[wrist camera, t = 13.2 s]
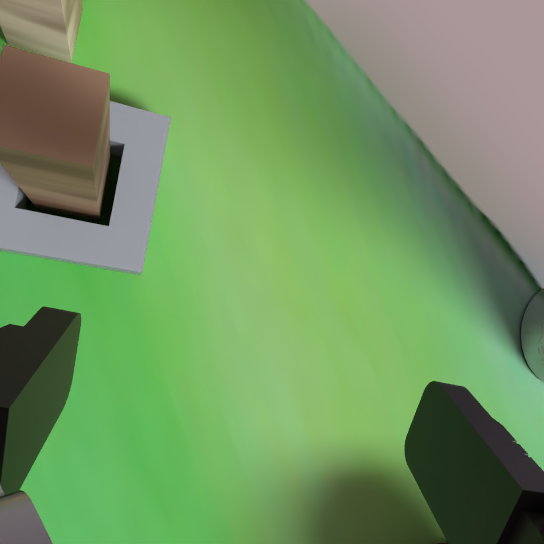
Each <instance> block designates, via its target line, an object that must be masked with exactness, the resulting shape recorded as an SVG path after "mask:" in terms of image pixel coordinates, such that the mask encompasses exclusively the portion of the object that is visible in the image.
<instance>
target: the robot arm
mask: <svg viewBox="0 0 544 544" xmlns="http://www.w3.org/2000/svg"><path fill="white" fill-rule="evenodd" d="M80 326H81V314H80V313H76V312H70V311H65V310H60V309H55V308H49V307H42V308H41V309H40V310H39V311H38V312H37V313H36V314H35V315H34V316H33V317H32V318H31V320H30V321H29V322H28V323H27V324H26V325H25V326H24V327H23V326H18V325H12V324H9V325H6V326H4V327H1V328H0V544H53V543H52V541H51V539H50V537H49V535H48V533H47V531H46V529H45V527H44V525H43V523H42V521H41V519H40V517H39V515H38V513H37V511H36V509H35V507H34V505H33V503H32V501H31V499H30V498H29V496H28V495H27V494H26V493H25V492H24V491H21V490H20V491H19V489H20V488H21V486H22V484H23V482H24V480H25V478H26V476H27V475H28V473H29V471H30V469H31V467H32V465H33V464H34V462H35V460H36V458H37V456H38V454H39V452H40V451H41V449H42V447H43V445H44V443H45V441H46V440H47V438H48V436H49V434H50V432H51V430H52V429H53V427H54V425H55V423H56V421H57V419H58V417H59V416H60V414H61V412H62V410H63V408H64V406H65V404H66V401H67V398H68V395H69V392H70V388H71V384H72V378H73V372H74V366H75V359H76V353H77V346H78V340H79V333H80ZM521 342H522V349H523V352H524V356H525V359H526V361H527V363H528V365H529V367H530V368H531V370H532V371H533V373H534V374H535V375H536V376H537V377H538V378H539V379H540V380H542V381H543V382H544V289H542V290H540V291H539V292H538V293H537V294H536V295H535V296H534V297H533V299H532V300H531V301H530V303H529V304H528V307H527V309H526V311H525V313H524V317H523V321H522V327H521ZM516 442H517V441H516V440H515V439H514V438H513V437H512V435H511V434H510V433H509V432H508V431H507V430H506V429H505V428H504V426H503V425H501V424H500V423H499V422H497V421H496V420H495V419H493V418H492V417H491V416H490V415H489V414H488V412H487V411H486V410H485V409H484V408H483V407H482V406H481V404H480V403H479V402H478V401H477V400H476V399H475V398H474V396H473V395H472V394H471V393H470V392H469V391H468V390H467V389H466V388H465V387H463V386H457V385H452V384H447V383H442V382H436V381H432V382H430V383H429V384H428V385H427V386H426V388H425V390H424V392H423V395H422V397H421V400H420V403H419V405H418V408H417V410H416V413H415V415H414V418H413V421H412V423H411V426H410V428H409V431H408V434H407V436H406V440H405V458H406V462H407V465H408V467H409V469H410V471H411V472H412V474H413V476H414V478H415V480H416V482H417V484H418V486H419V488H420V490H421V492H422V494H423V496H424V498H425V500H426V501H427V503H428V505H429V507H430V509H431V511H432V513H433V515H434V517H435V519H436V521H437V523H438V525H439V527H440V528H441V530H442V532H443V534H444V536H445V538H446V540H447V542H448V544H544V472H543V470H542V469H541V468H540V467H539V466H538V465H537V464H536V463H535V461H534V460H533V459H532V458H530V457H528V453H527V452H526V451H525V450H524V449H523V448H522V447H521V446H520V444H516Z"/></svg>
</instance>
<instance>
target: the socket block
mask: <svg viewBox="0 0 544 544" xmlns="http://www.w3.org/2000/svg"><path fill="white" fill-rule="evenodd" d="M170 118H171V117H167V116H164V115H160V114H156V113H153V112H149V111H145V110H142V109H138V108H134V107H131V106H127V105H123V104H120V103H116V102H112V101H110V154H112V155H116V156H121V157H122V161H121V166H120V171H119V177H118V182H117V187H116V192H115V197H114V203H113V208H112V213H111V218H110V223H109V226H104V225H99V224H94V223H89V222H84V221H79V220H74V219H69V218H64V217H59V216H54V215H49V214H44V213H39V212H34V211H29V210H25V206H26V201H27V195H26V194H25V193H24V192H23V191H22V189H21V188H20V187H19V186H18V184H17V183H16V182H15V181H14V180H13V178H12V177H11V176H10V175H9V173H8V172H7V171H6V170H5V169H4V167H3V166H2V165H1V164H0V251H5V252H11V253H16V254H22V255H28V256H34V257H40V258H45V259H51V260H57V261H63V262H69V263H74V264H80V265H86V266H92V267H98V268H103V269H109V270H115V271H121V272H127V273H132V274H138V275H140V274H141V273H142V271H143V265H144V260H145V255H146V249H147V244H148V238H149V233H150V227H151V222H152V216H153V211H154V206H155V200H156V195H157V189H158V184H159V178H160V173H161V167H162V162H163V157H164V151H165V146H166V140H167V135H168V129H169V124H170Z"/></svg>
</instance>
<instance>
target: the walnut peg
mask: <svg viewBox="0 0 544 544" xmlns="http://www.w3.org/2000/svg"><path fill="white" fill-rule="evenodd" d="M0 164H1V165H2V166H3V167H4V169H5V170H6V171H7V172H8V173H9V175H10V176H11V177H12V178H13V180H14V181H15V182H16V183H17V184H18V186H19V187H20V188H21V189H22V191H23V192H24V193H25V194H26V195H27V197H28V198H29V199H30V200H31V202H32V203H33V204H34V205H35V206H36V208H37V209H41V210H46V211H52V212H57V213H62V214H68V215H73V216H78V217H84V218H89V219H94V220H100V217H101V212H102V206H103V201H104V195H105V190H106V184H107V179H108V173H109V168H110V74H109V73H105V72H101V71H98V70H94V69H90V68H87V67H83V66H80V65H76V64H72V63H69V62H65V61H61V60H58V59H54V58H51V57H47V56H43V55H40V54H36V53H32V52H29V51H25V50H21V49H18V48H14V47H11V46H7V45H3V49H2V54H1V59H0Z"/></svg>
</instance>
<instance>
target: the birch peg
mask: <svg viewBox="0 0 544 544" xmlns="http://www.w3.org/2000/svg"><path fill="white" fill-rule="evenodd" d="M82 10H83V8H82V0H0V26H1V29H2V31H3V34H4V36H5V38H6V41H7V43H8V45H11V46H14V47H17V48H21V49H24V50H28V51H31V52H35V53H38V54H42V55H45V56H49V57H52V58H56V59H59V60H63V61H66V62H70V63H72V58H73V54H74V49H75V44H76V39H77V34H78V29H79V25H80V20H81V15H82Z"/></svg>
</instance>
